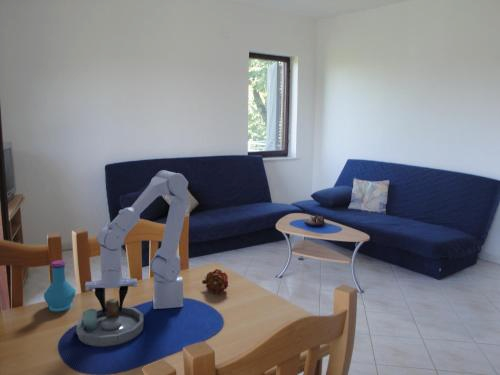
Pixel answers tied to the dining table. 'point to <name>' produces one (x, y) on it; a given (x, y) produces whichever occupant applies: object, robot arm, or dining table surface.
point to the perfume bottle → (59, 289)
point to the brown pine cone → (216, 281)
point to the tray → (112, 328)
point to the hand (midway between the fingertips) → (112, 310)
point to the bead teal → (90, 319)
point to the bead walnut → (112, 308)
